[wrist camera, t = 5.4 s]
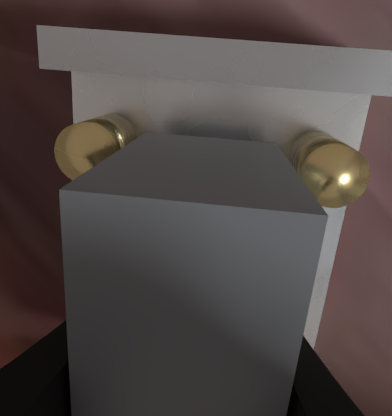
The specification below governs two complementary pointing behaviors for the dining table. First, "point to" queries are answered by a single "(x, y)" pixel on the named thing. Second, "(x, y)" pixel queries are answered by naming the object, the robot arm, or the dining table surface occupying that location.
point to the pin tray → (225, 107)
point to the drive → (187, 278)
